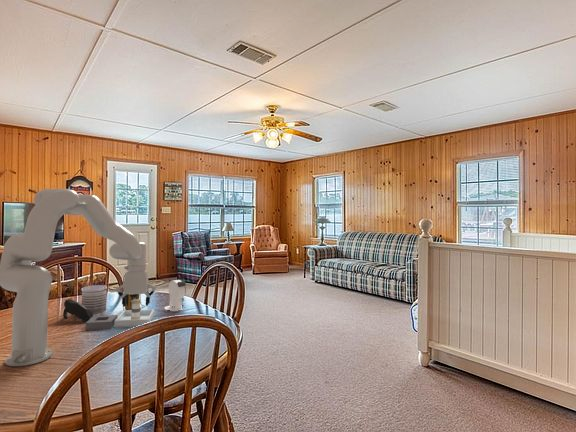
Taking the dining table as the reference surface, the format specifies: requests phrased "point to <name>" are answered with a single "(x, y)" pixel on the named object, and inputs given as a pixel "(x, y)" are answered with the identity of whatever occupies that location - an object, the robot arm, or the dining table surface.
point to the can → (94, 298)
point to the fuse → (135, 309)
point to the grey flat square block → (101, 322)
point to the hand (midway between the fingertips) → (136, 305)
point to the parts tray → (126, 321)
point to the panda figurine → (176, 294)
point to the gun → (76, 310)
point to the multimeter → (131, 297)
